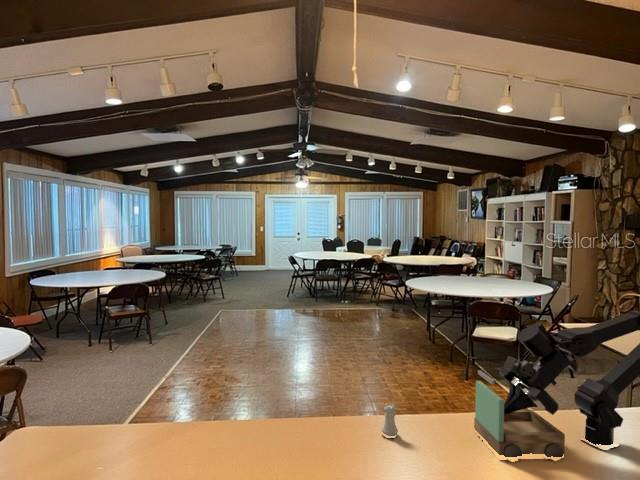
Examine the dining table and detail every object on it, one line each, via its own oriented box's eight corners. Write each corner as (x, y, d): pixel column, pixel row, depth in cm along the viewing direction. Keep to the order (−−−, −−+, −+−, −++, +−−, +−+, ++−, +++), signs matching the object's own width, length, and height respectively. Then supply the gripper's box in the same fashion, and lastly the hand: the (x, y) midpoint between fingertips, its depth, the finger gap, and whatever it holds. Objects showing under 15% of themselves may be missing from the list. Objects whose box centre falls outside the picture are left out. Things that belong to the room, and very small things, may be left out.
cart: (529, 430, 116) (529, 408, 116) (567, 461, 100) (567, 436, 100) (472, 430, 115) (472, 408, 115) (501, 462, 99) (501, 437, 99)
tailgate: (479, 417, 113) (480, 367, 113) (503, 441, 100) (504, 384, 100) (473, 417, 113) (473, 367, 113) (496, 441, 100) (497, 384, 100)
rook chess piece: (385, 440, 109) (385, 409, 109) (378, 432, 113) (378, 403, 113) (401, 438, 110) (401, 408, 110) (393, 430, 114) (394, 401, 114)
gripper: (507, 337, 116) (466, 377, 116) (547, 357, 98) (499, 404, 97) (533, 366, 117) (494, 405, 116) (579, 391, 98) (532, 438, 98)
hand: (503, 412), depth 107 cm, fingers closed
